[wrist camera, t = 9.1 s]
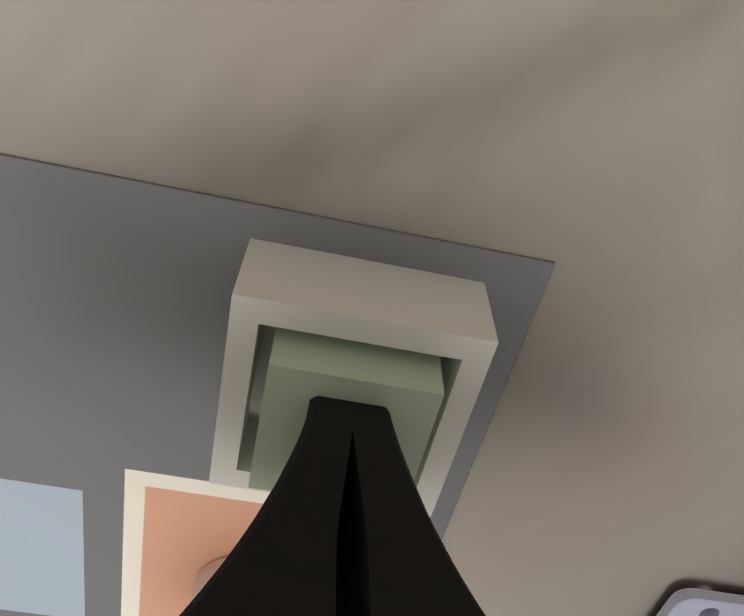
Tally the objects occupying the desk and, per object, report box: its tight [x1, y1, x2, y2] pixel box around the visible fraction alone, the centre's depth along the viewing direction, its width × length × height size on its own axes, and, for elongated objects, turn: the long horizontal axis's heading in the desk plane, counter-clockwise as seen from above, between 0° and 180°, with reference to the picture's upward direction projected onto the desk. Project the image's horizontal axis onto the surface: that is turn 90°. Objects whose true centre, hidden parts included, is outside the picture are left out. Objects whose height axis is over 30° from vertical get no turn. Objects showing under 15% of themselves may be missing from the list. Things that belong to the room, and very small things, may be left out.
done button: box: [248, 327, 444, 491], centre depth 13 cm, size 3×3×2 cm
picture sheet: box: [0, 153, 555, 616], centre depth 17 cm, size 15×15×1 cm
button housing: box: [209, 238, 499, 517], centre depth 14 cm, size 5×5×2 cm
